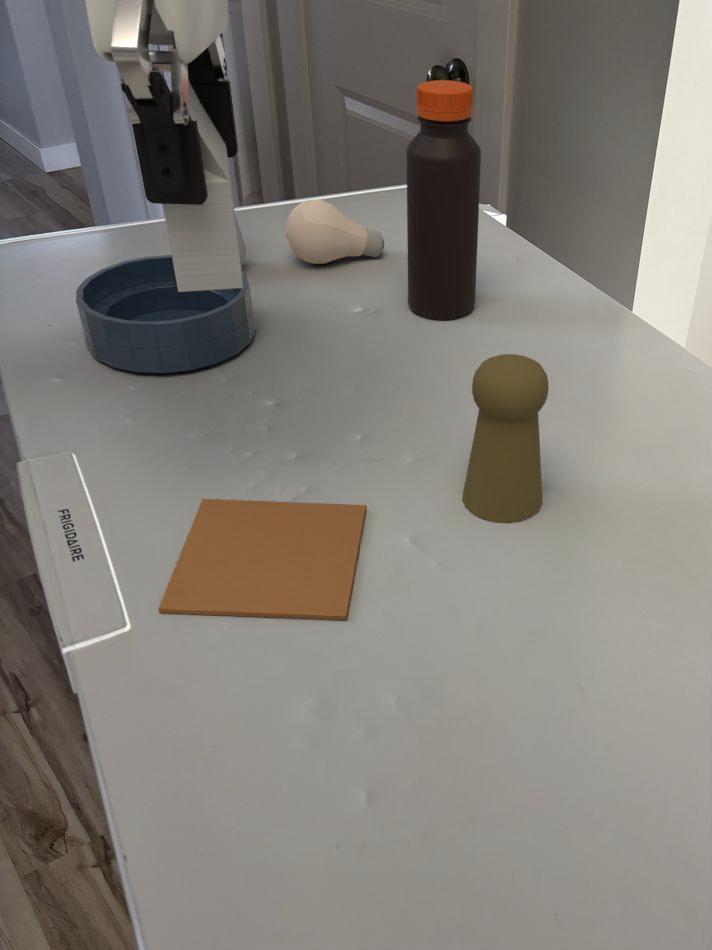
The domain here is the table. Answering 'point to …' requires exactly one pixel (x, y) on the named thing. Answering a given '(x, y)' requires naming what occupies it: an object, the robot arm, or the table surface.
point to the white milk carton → (206, 219)
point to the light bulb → (328, 234)
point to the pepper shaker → (506, 440)
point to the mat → (267, 560)
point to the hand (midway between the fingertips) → (195, 175)
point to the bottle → (443, 203)
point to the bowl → (161, 318)
